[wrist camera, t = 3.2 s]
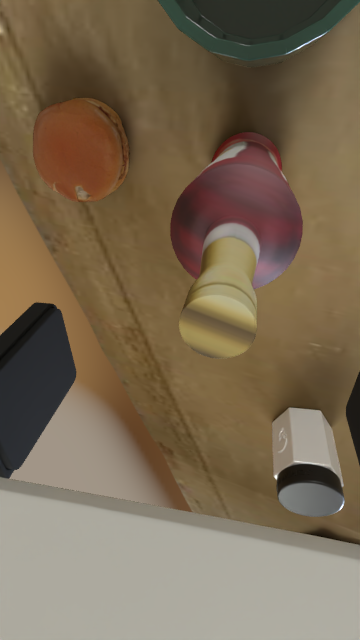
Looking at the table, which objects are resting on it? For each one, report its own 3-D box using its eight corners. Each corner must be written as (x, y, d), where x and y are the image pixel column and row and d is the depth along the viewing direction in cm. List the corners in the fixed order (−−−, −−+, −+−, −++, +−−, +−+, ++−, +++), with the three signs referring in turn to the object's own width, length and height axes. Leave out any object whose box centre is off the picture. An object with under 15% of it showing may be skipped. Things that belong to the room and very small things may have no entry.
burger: (101, 77, 32) (80, 76, 28) (149, 172, 36) (136, 182, 32) (29, 129, 36) (2, 134, 32) (79, 209, 40) (60, 222, 36)
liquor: (225, 116, 32) (142, 184, 9) (297, 144, 32) (385, 279, 10) (199, 191, 36) (99, 363, 14) (263, 216, 36) (267, 426, 14)
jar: (297, 397, 50) (305, 472, 40) (342, 421, 51) (362, 499, 41) (262, 428, 55) (262, 500, 45) (304, 449, 56) (313, 524, 46)
